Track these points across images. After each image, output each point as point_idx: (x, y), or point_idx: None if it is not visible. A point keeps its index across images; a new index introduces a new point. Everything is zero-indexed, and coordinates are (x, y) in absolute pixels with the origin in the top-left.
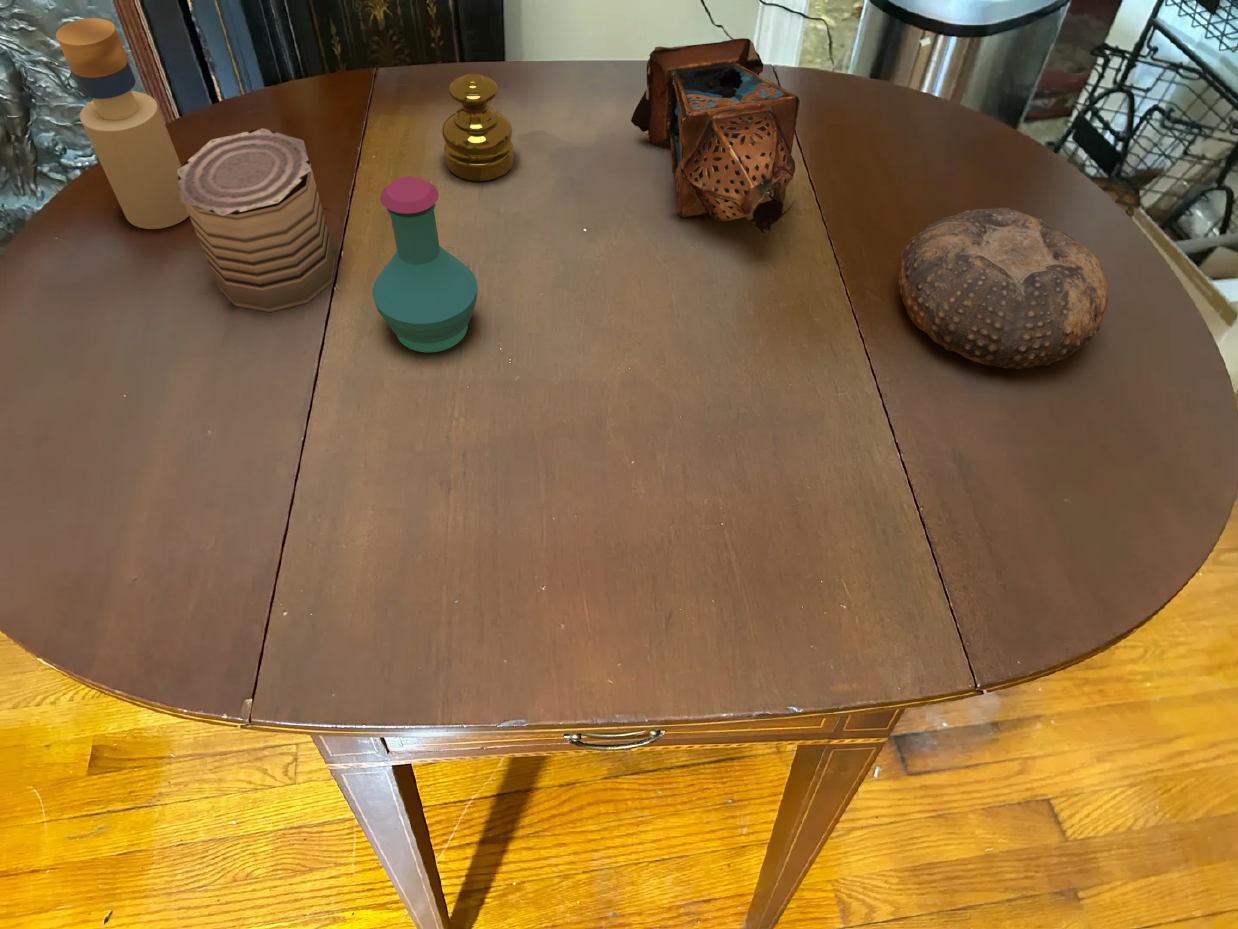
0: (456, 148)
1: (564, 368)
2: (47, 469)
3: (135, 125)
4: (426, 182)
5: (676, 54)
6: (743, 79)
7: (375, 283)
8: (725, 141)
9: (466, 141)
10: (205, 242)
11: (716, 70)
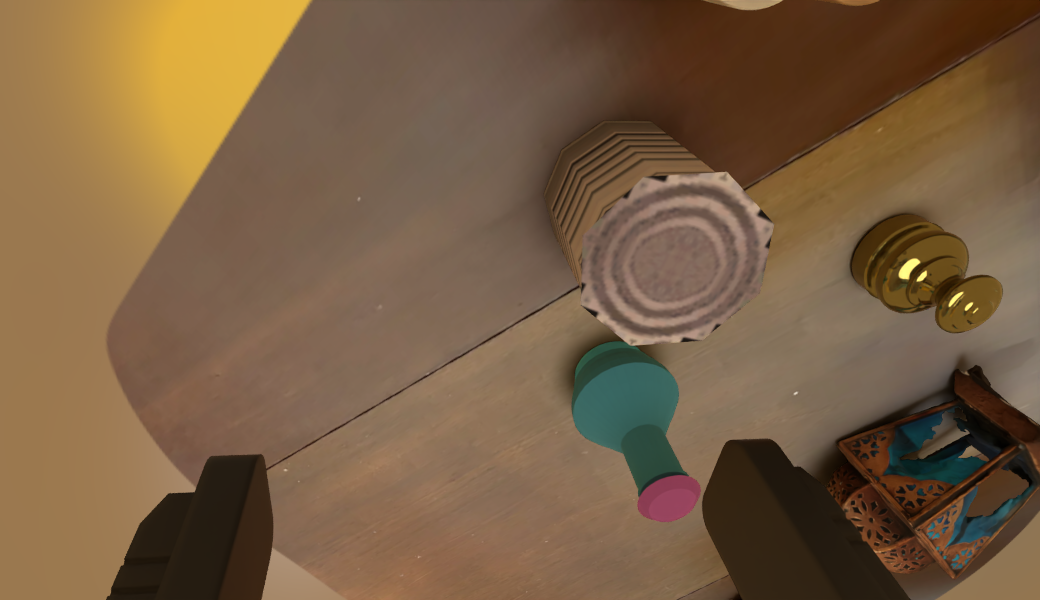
0: (881, 273)
1: (612, 470)
2: (229, 215)
3: (730, 6)
4: (690, 509)
5: None
6: (1005, 506)
7: (608, 376)
8: (885, 549)
9: (890, 289)
10: (572, 209)
11: (1029, 472)
